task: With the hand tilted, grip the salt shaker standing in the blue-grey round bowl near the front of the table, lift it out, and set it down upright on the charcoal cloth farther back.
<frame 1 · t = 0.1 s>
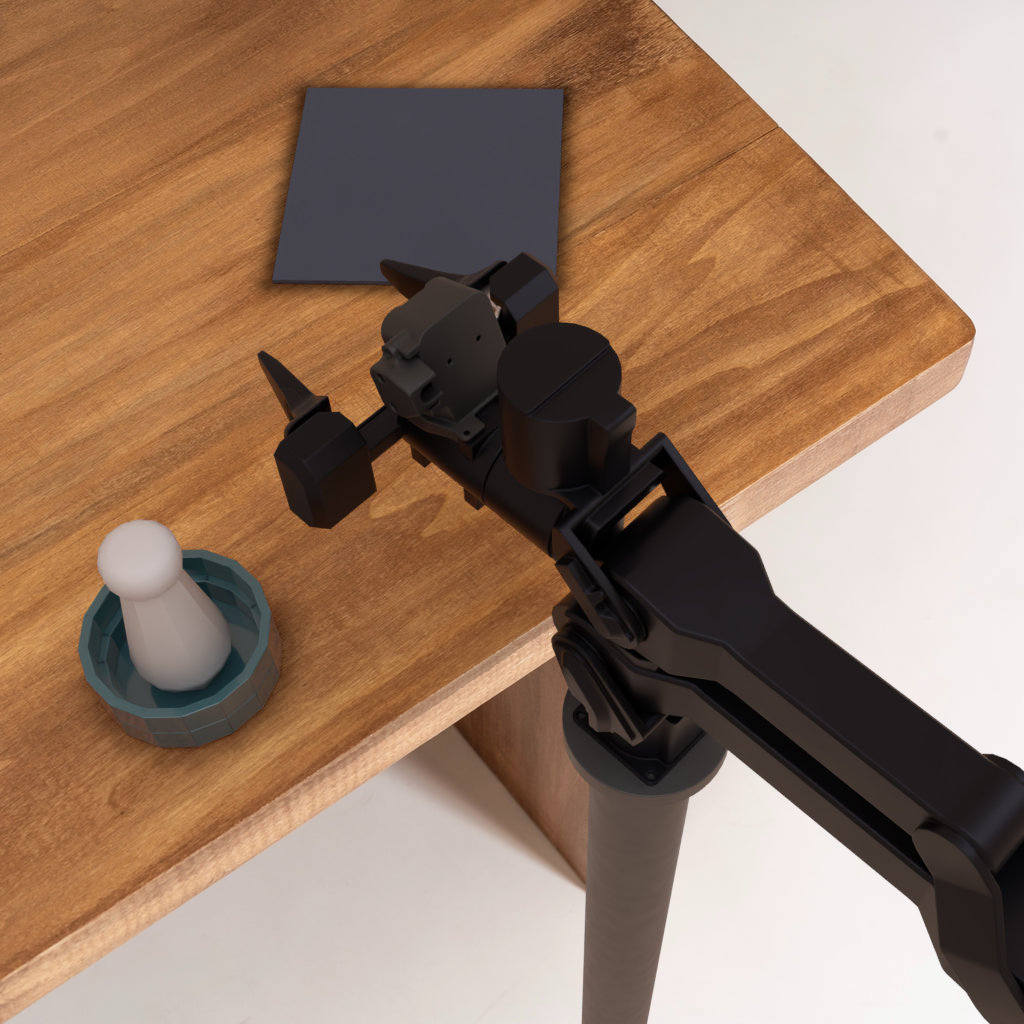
hand: (322, 310, 81), 14 cm above the table, tool horizontal, fingers open, 9 cm apart
salt shaker: (190, 664, 85), resting on blue-grey round bowl
cloth: (424, 183, 106), on the table
blue-grey round bowl: (192, 666, 85), on the table
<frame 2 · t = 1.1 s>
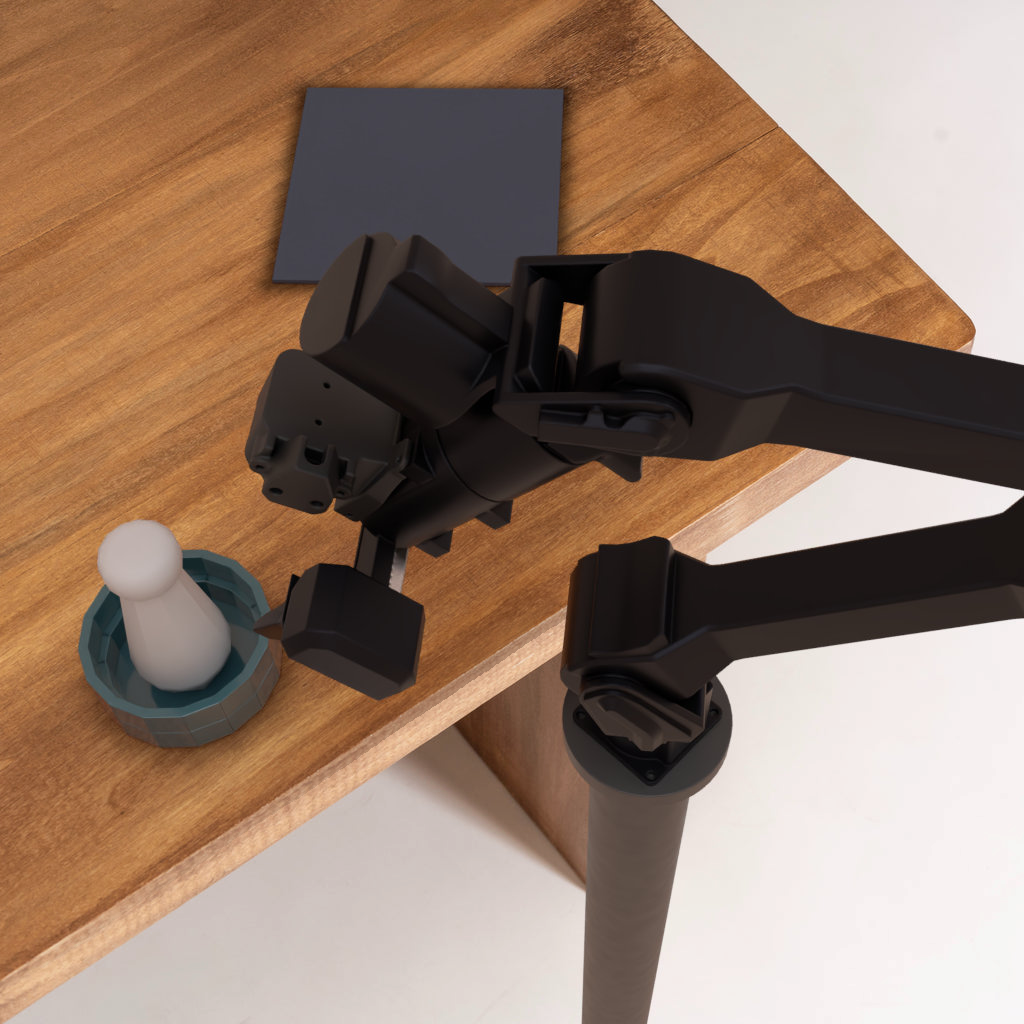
hand: (278, 552, 73), 14 cm above the table, tool tilted 45°, fingers open, 9 cm apart
nothing on the table moved.
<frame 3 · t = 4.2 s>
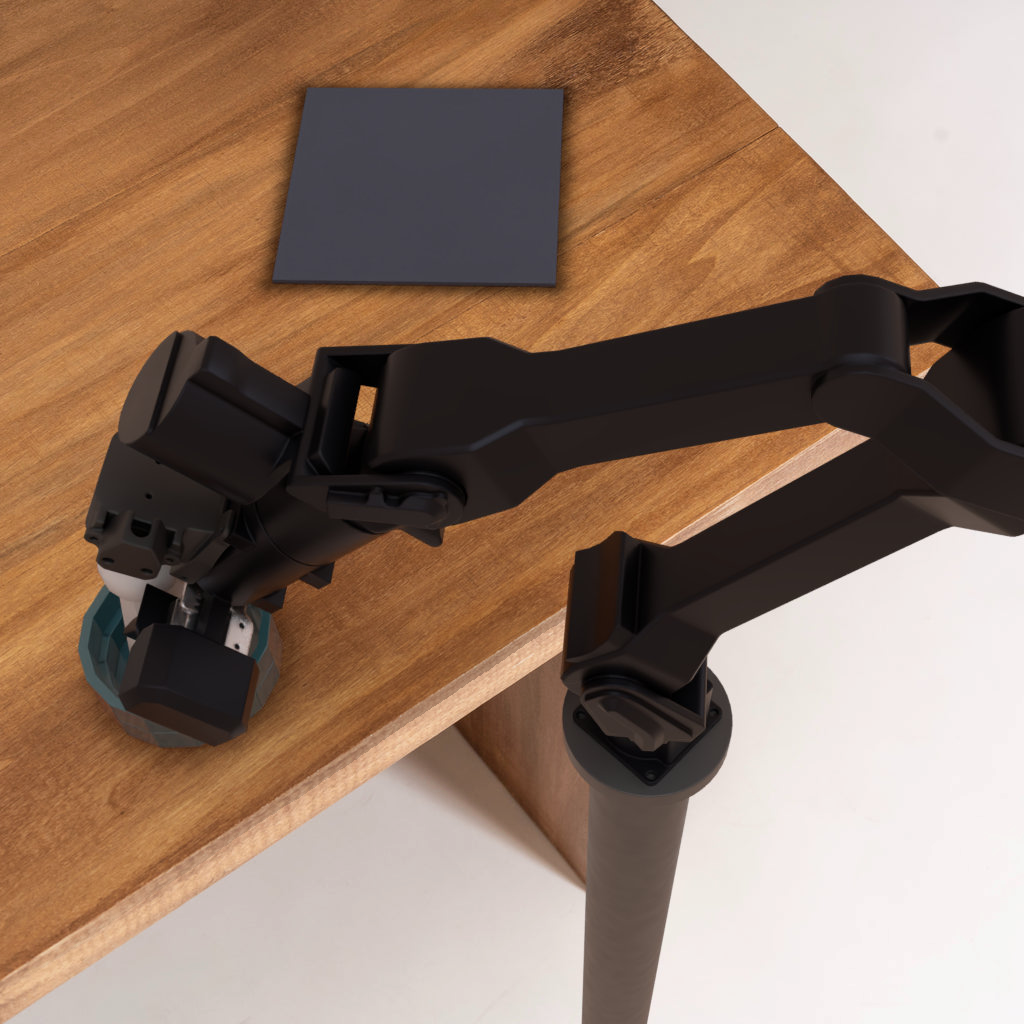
hand: (139, 606, 79), 7 cm above the table, tool tilted 45°, fingers closed on salt shaker, 3 cm apart
salt shaker: (190, 664, 85), resting on blue-grey round bowl, touching gripper
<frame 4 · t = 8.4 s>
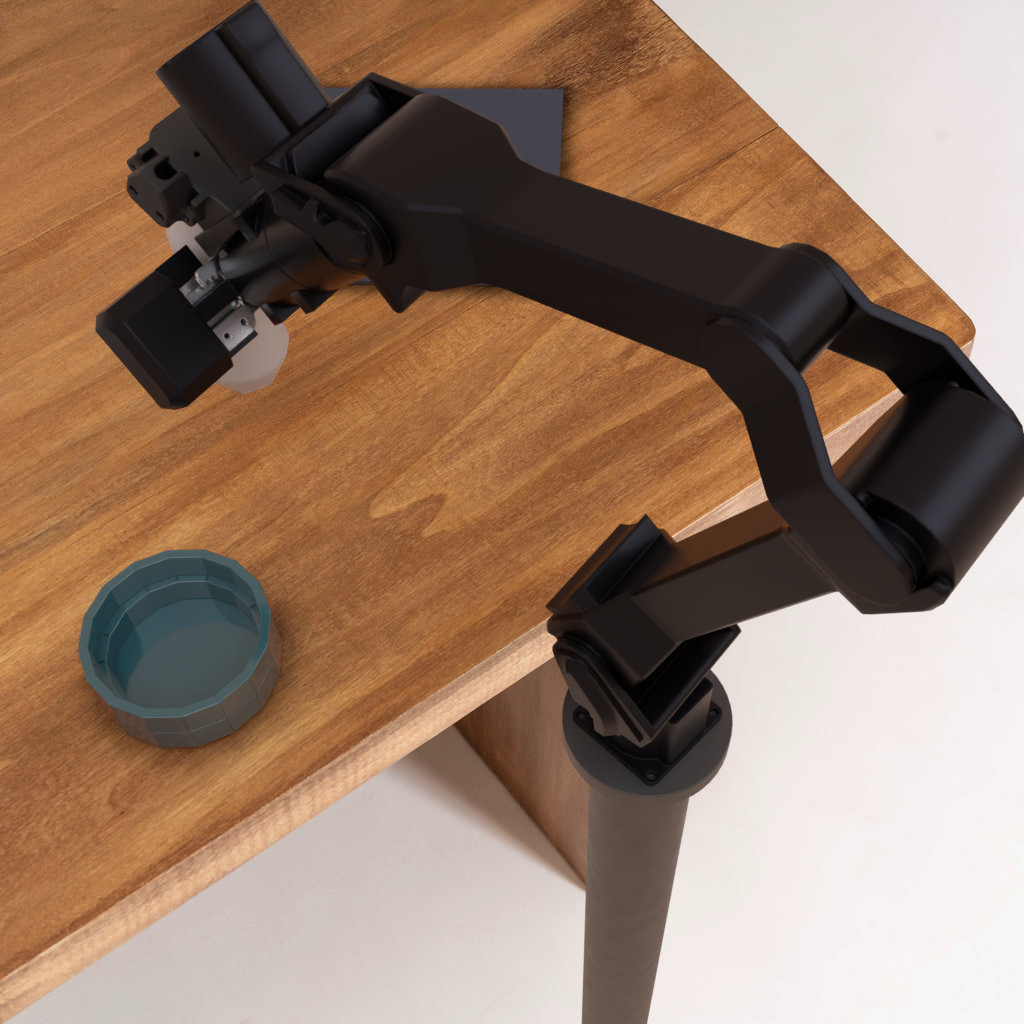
hand: (210, 284, 83), 14 cm above the table, tool tilted 45°, fingers closed on salt shaker, 3 cm apart
salt shaker: (248, 370, 88), point 7 cm above the table, touching gripper
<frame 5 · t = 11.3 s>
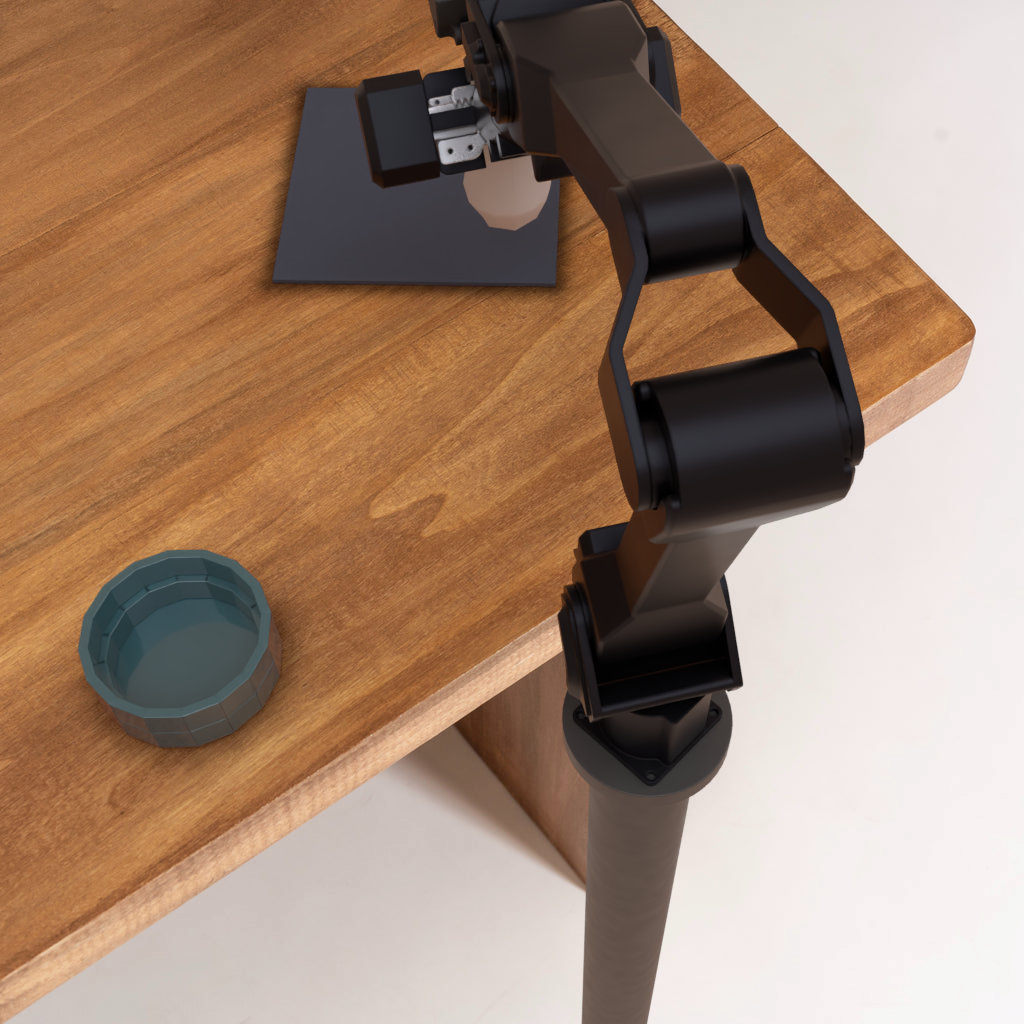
hand: (500, 120, 93), 12 cm above the table, tool tilted 45°, fingers closed on salt shaker, 3 cm apart
salt shaker: (508, 211, 98), point 5 cm above the table, touching gripper
when the fingers open (7 cm above the table, at t = 12.9 s): salt shaker stays where it is, resting on cloth.
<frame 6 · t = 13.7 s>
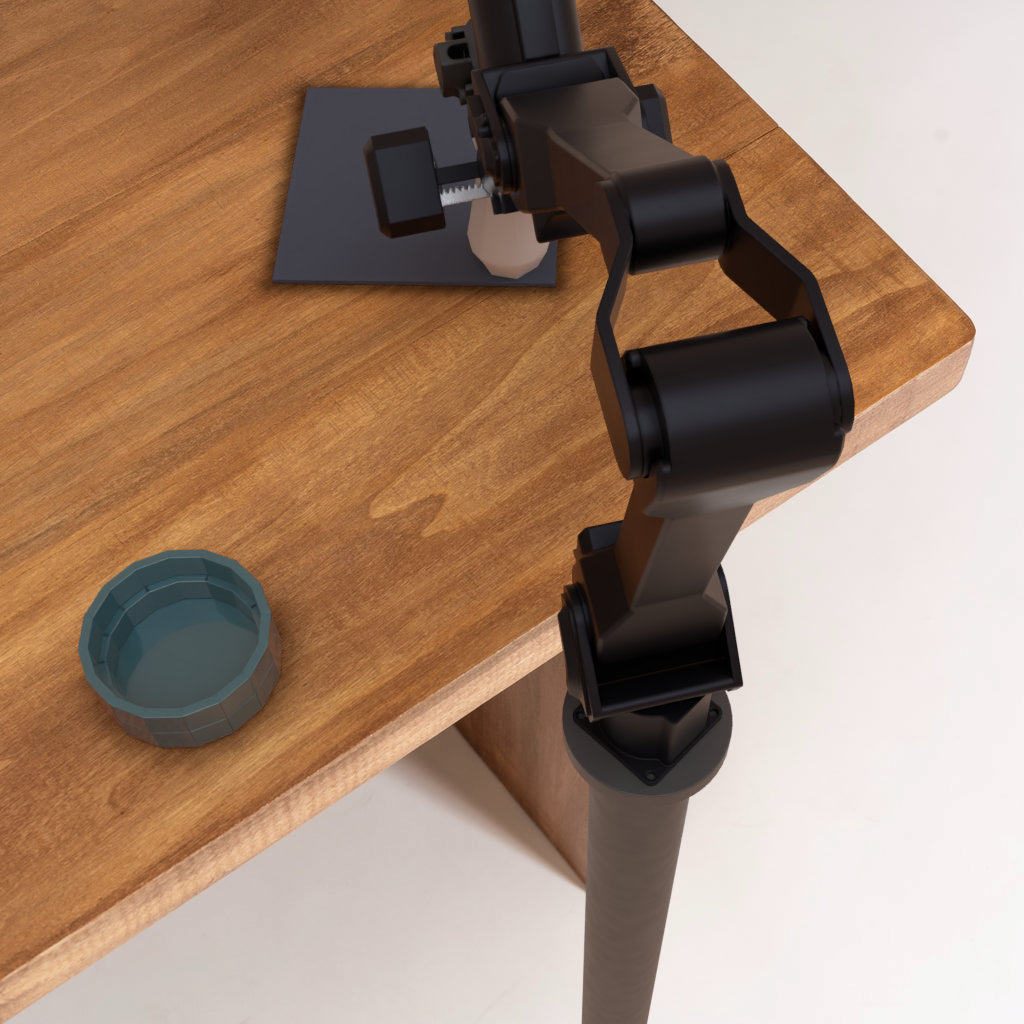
hand: (502, 167, 97), 7 cm above the table, tool tilted 45°, fingers open, 9 cm apart
salt shaker: (510, 259, 102), resting on cloth
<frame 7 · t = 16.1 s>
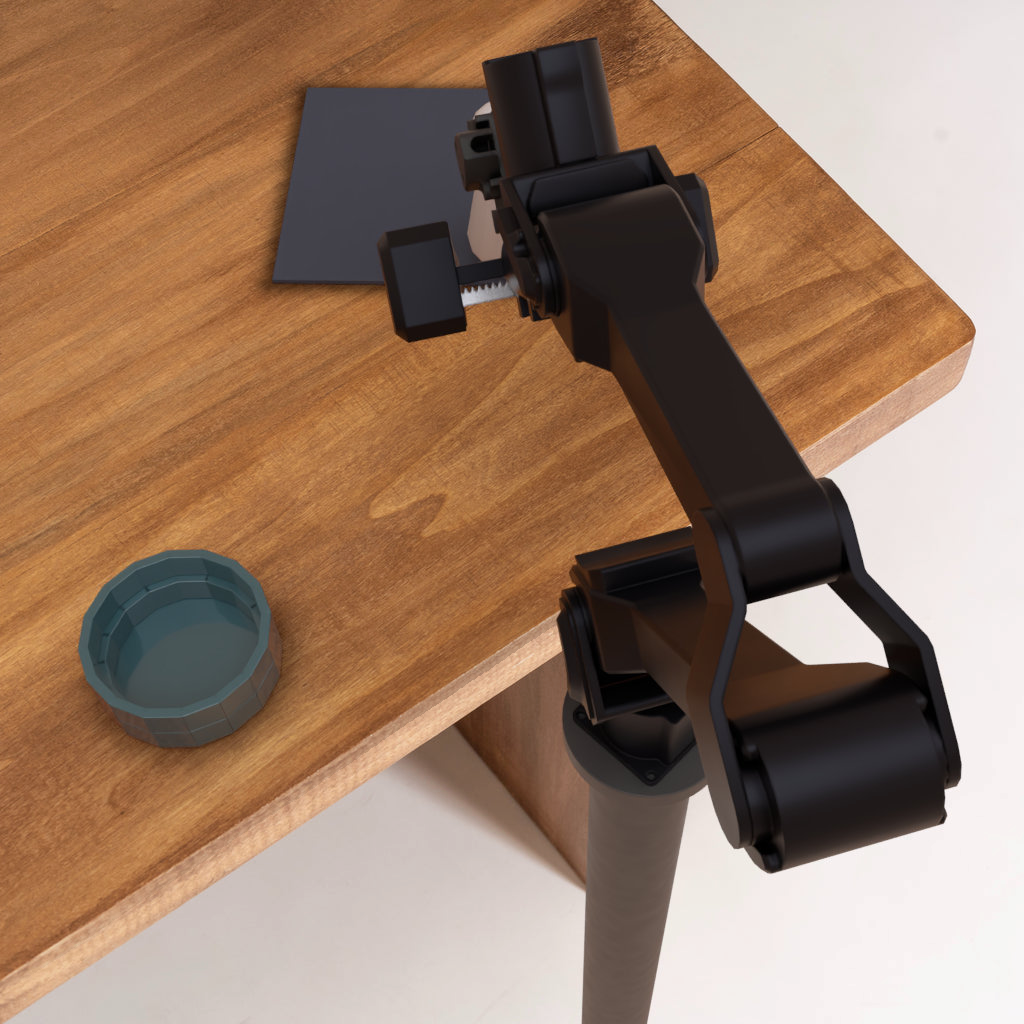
hand: (527, 255, 89), 10 cm above the table, tool tilted 45°, fingers open, 9 cm apart
nothing on the table moved.
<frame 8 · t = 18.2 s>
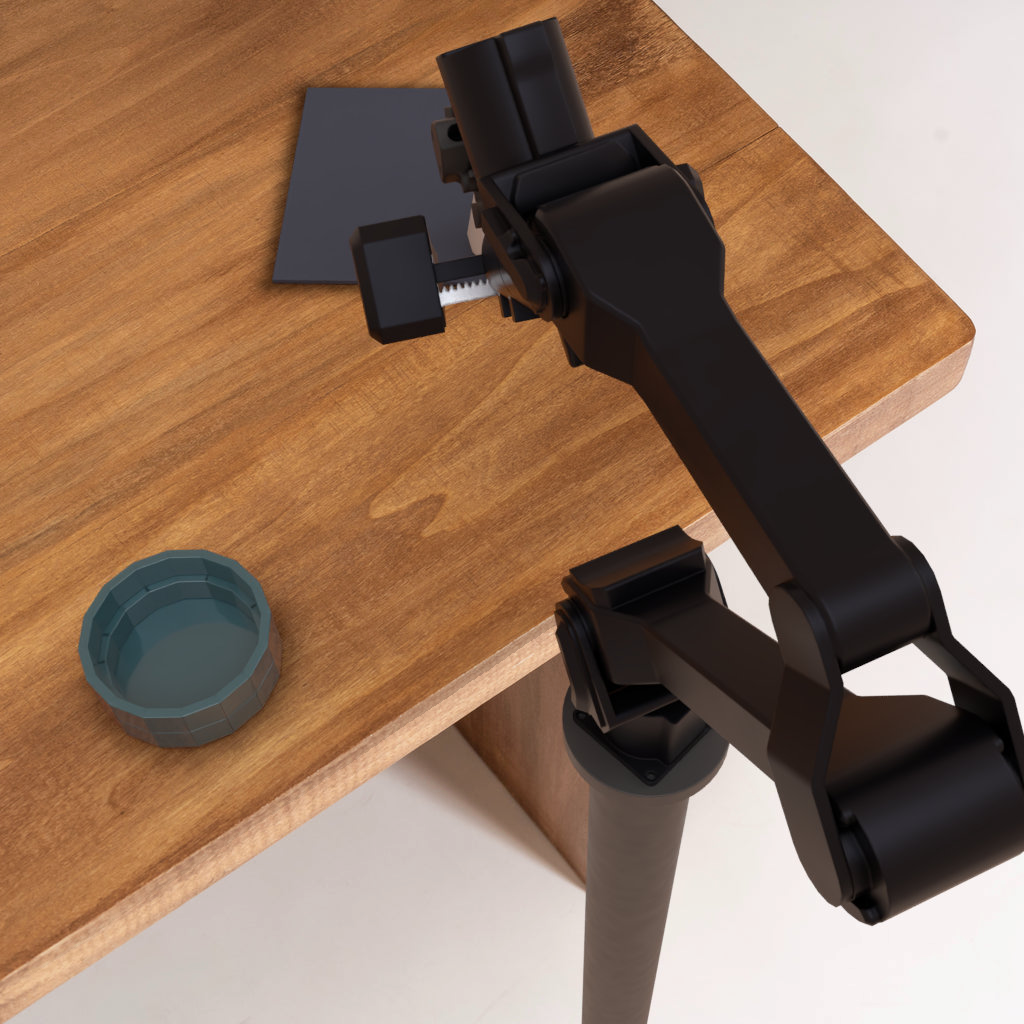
hand: (510, 251, 84), 14 cm above the table, tool tilted 45°, fingers open, 9 cm apart
nothing on the table moved.
at the end: salt shaker inside the target area on the cloth (0.6 cm from its centre), point 0.2 cm above the cloth's base; salt shaker tilted 0°; the gripper is holding nothing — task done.
